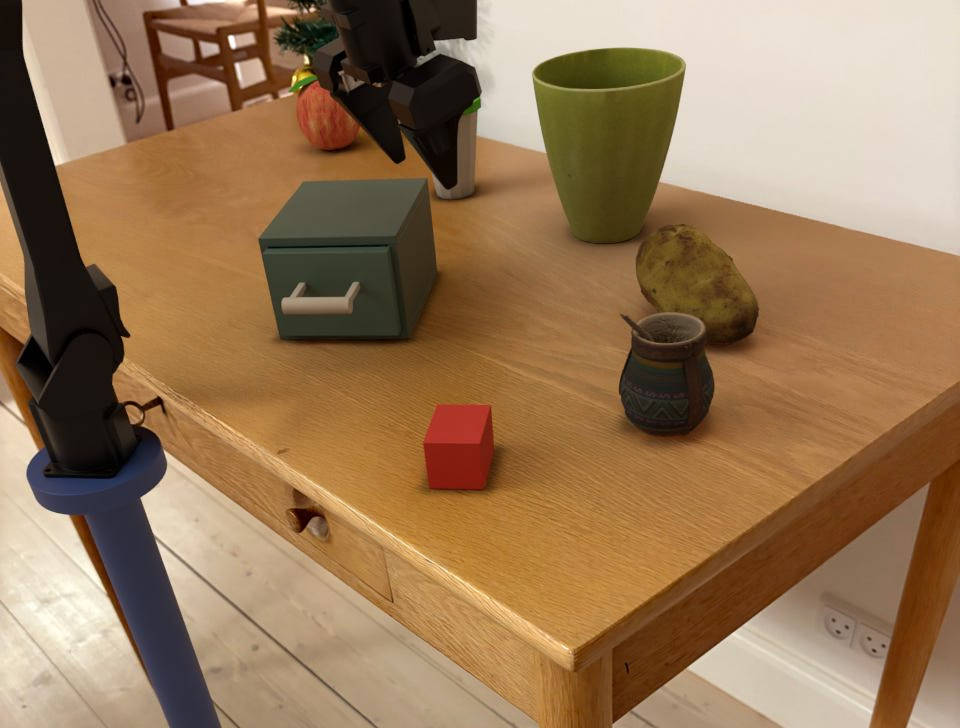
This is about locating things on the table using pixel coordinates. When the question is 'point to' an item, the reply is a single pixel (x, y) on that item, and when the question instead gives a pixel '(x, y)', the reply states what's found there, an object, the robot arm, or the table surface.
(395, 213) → the cabinet
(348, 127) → the fruit
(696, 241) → the potato
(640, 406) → the mate gourd
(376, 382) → the table surface
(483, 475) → the red block
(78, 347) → the robot arm
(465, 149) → the cup
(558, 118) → the flower pot
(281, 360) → the table surface
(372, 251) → the drawer
